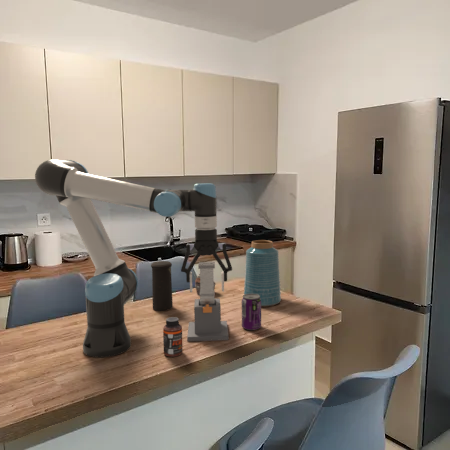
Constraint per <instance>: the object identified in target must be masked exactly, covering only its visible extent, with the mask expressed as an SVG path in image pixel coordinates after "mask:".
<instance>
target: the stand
mask: <svg viewBox="0 0 450 450" xmlns="http://www.w3.org/2000/svg"><path fill="white" fill-rule="evenodd" d="M221 308H222V307H221V300H220V298H215V305H209V304H206V306H200V298H194V306H193V310H194V311H193V312H194V321H188V325H187V326H188V327H187V328H188V329H187V336H186V338H187V340H186V341H187V342H205V341H207V342H208V341H209V342H211V341H229V329H228V322H227V320H222V317H221Z"/></svg>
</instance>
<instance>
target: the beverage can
mask: <svg viewBox="0 0 450 450" xmlns="http://www.w3.org/2000/svg"><path fill="white" fill-rule="evenodd" d="M241 327H242V328H243V329H245V330H247V331H256V330H258V329H260V328H262V307H261V300H260V296H259V295H258V294H245V295H244V294H243V295H242V299H241Z"/></svg>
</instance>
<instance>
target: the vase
mask: <svg viewBox="0 0 450 450" xmlns="http://www.w3.org/2000/svg"><path fill="white" fill-rule="evenodd" d="M279 259H280V258H279V250H278V249H277V248H275V247H274V242H273V241H272V240H266V239H258V240H252V241H251V247H249V248H248V249H246V251H245V267H244V268H245V270H244V272H245V273H244V284H243V290H244V291H243V295H245V294H258V295H259V296H260V300H261V308H266V307H267V308H268V307H272V306H276V305H278V304H279V303H280V302H281V301H282V295H281V294H282V292H281V290H282V289H281V279H280V277H281V276H280V260H279Z"/></svg>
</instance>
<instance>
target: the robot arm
mask: <svg viewBox="0 0 450 450" xmlns="http://www.w3.org/2000/svg"><path fill="white" fill-rule="evenodd" d="M34 178H35V183H36V186H37V188H39V189H40V190H41V192H43V193H45V194H46V195H50V196H55V197H56V199H57V201H58V203H59V205H60V206H61V205H62V206H63V207H65V208H66V209H67V211H68V213H69V215H70V217H71V219H72V222H73V225H74V226H75V228H76V230H77V232H78V235H79V236H80V238H81V241H82V242H83V245H84V247H85V250H86V251H87V254H88V256H89V257H90V259H91V261H92V265H94V268H95V271H94V274H93V276H91V277H90V278H88V280H87V281H86V283H85V289H84V295H85V308H86V309H85V310H86V323H87V327H86V332H85V334H84V339H83V343H82V353H83V354H84V355H86V356H88V357H92V358H107V357H108V358H110V357H114V356H118V355H120V354H123V353H125V352H127V351H128V350H129V349H130V348H131V346H132V339H131V336H130V335H131V334H130V333H129V331H128V328H127V325H126V323H125V305H126V304H127V303H128V301H130V300H131V299H132V298H133V297H134V296H135V294H136V292H137V290H138V286H139V278H138V276H137V274H136V273H135V272H134V271H133V269H130V268H129V267H128V264H127V263H126V261H125V260H123V259H121V258H119V256H118V254H117V252H116V249H115V248H114V245H113V243H112V241H111V239H110V237H109V234H108V232H107V231H106V229H105V226H104V224H103V222H102V220H101V217H100V215H99V213H98V211H97V208H96V207H95V205H94V203H93V201H92V200H94V201H99V202H104V203H108V204H114V205H118V206H122V207H128V208H134V209H137V210H143V211H147V212H150V213H153V214H154V213H155V214H158V215H159V216H161V217H166V218H167V217H173V216H175V215H177V214H178V213H179V212H194V228H195V230H194V237H195V238H194V243H189V242H188V243H187V244H186V246H185V247H186V252H185V254H184V258H183V262H182V265H181V267H180V272H181V273H185V277H186V283H189V292H190V293H193V272H192V269H193V268H194V266H195V264H196V263H197V261H198V259H199V258H200V256H213V258H214V259H215V260H216V262H217V264H218V265H219V266H220V269H221V270H222V271H221V273H220V274H221V291H222V292H225V282H227V281H228V272H232V271H233V267H232V264H231V261H230V258H229V255H228V252H227V243H226V242H222V243H220V242H218V231H217V230H218V229H217V226H218V224H217V223H218V221H217V220H218V219H217V218H218V217H217V188H216V185H215V184H214V183H206V182H205V183H204V182H203V183H195V184H194V185H193V188H191V189H170V188H168V189H161V188H156V187H151V186H146V185H141V184H136V183H131V182H128V181H125V180H118V179H114V178H109V177H106V176H105V177H104V176H101V175H94V174H90V173H89V170H88V169H87V168H86V167H85V166H84V165H83V164H82V163H80V162H77V161H75V160H72V159H64V160H63V159H48V160H45V161H43V162H42V163H40V164H39V165H38V166H37V168H36V171H35V173H34ZM218 247H219V249H220V250H222V253H223V256H224V258H225V259H224V261H225V262H226V265H227V266H225V264H224V263H223V261H222V259H221V258H220V256H219V255H218V253H217V249H218ZM193 248H194V249H195V250H196V251H197V252H196V253H195V254H194V257H193V258H192V260H191V262H190V263H189V265H188V267H187V268H186V266H187V263H188V261H189V257H190V253H191V251H192V250H193Z"/></svg>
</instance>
